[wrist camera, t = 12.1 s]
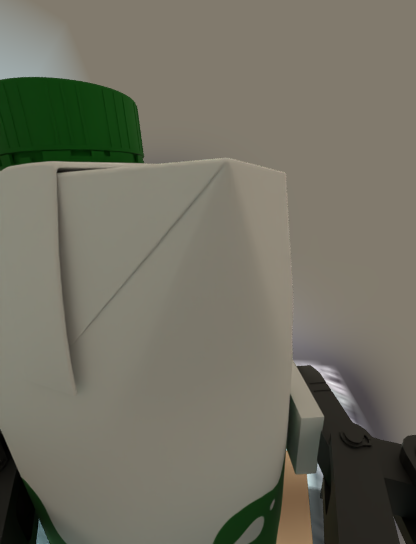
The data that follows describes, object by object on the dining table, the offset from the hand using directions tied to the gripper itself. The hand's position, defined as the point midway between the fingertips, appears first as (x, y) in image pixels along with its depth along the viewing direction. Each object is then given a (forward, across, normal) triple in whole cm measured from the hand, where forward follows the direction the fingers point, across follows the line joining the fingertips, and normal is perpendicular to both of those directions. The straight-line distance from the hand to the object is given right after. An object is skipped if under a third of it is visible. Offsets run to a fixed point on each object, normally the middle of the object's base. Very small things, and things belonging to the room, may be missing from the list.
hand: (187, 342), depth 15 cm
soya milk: (-5, 0, -9) cm, 10 cm away
